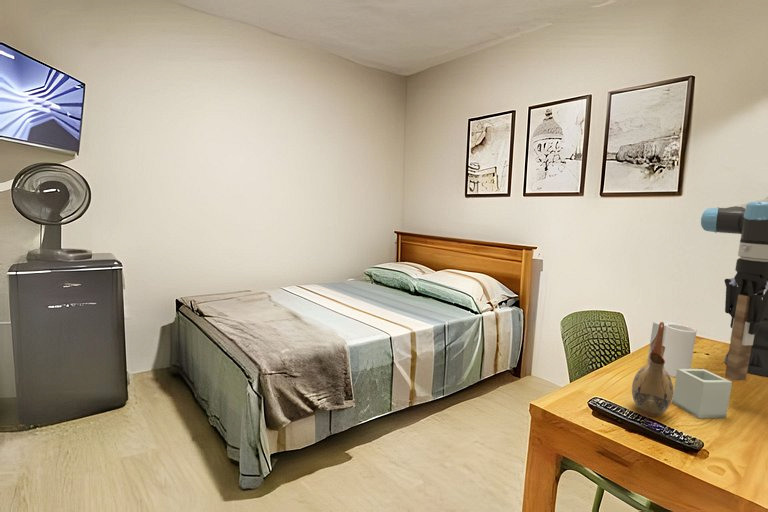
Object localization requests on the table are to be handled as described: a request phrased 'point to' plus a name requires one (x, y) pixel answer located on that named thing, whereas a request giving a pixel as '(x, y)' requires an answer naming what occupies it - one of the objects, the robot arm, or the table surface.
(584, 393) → the table surface
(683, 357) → the cup
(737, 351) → the brown wooden plank
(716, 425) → the table surface
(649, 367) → the ceramic vessel
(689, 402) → the white square tube
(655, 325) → the skincare box
